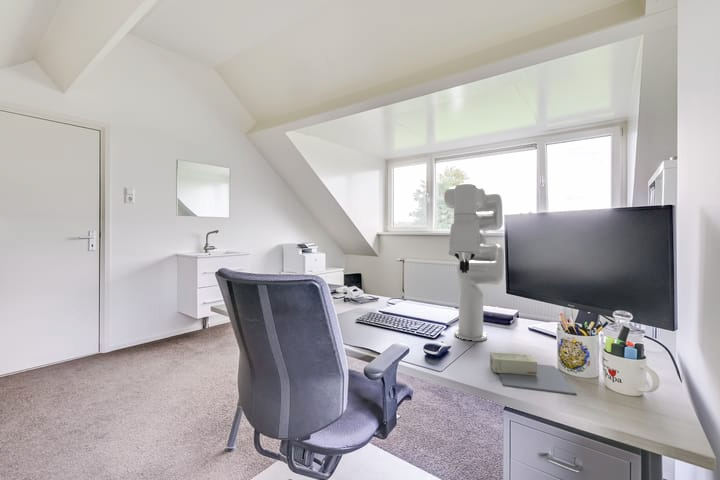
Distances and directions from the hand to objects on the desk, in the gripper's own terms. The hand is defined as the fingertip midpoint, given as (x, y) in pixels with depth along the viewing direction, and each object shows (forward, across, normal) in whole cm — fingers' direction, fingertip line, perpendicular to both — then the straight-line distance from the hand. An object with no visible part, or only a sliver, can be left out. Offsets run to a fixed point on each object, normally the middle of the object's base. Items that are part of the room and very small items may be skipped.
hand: (464, 272), depth 111 cm
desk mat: (+29, -19, +11) cm, 36 cm away
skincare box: (+26, -8, +10) cm, 29 cm away
